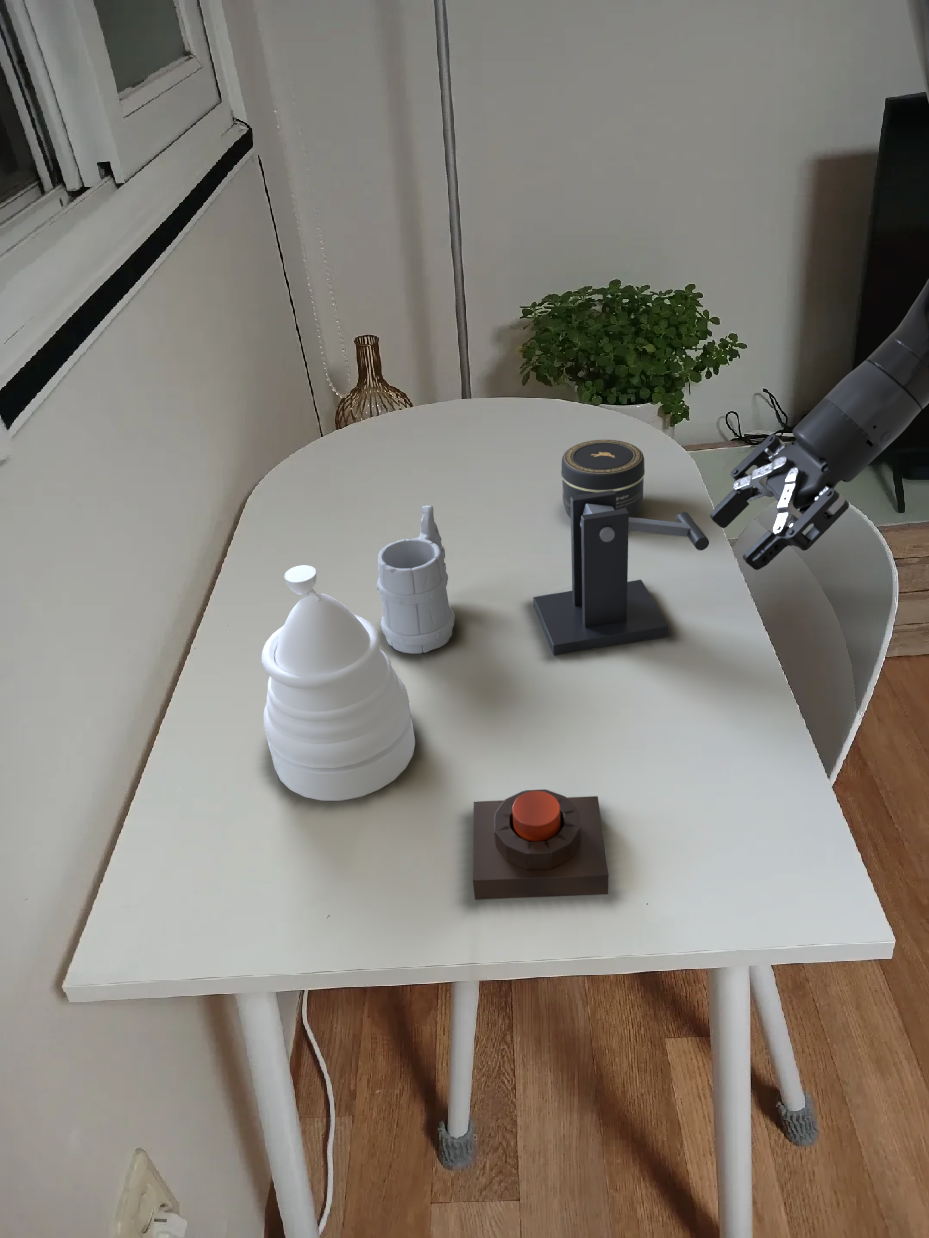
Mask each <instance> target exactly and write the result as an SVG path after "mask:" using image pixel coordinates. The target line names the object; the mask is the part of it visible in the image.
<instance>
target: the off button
mask: <svg viewBox="0 0 929 1238" xmlns="http://www.w3.org/2000/svg"><path fill="white" fill-rule="evenodd" d="M512 812H513V825H514V829H515V831H516V832H517V834H518V835H519V836H521V837H522V838H524V839H526V840H529V841H535V842H538V841H545V840H548V839H550V838H552V837H553V836H555V835H556V834H557V832H558V831H559V829H560V825H561V817H560V804H559V802H558V801H557V799H556V798H555V797H554V796H552V795H551V794H549V793H546V792H542V791H531V792H527V793H524V794H522V795H521V796H519V797H518V798H517V799H516V800H515V802H514V804H513V807H512Z"/></svg>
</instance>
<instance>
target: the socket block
mask: <svg viewBox="0 0 929 1238" xmlns="http://www.w3.org/2000/svg"><path fill="white" fill-rule="evenodd" d="M531 791H542V792H546V793H549V794H551V795H552V796H554V797H555V798H556V799H557V801H558V802H559V804H560V817H561V825H560V829H559V831H558V832H557V834H556V835H555V836H553V837H552V838H550V839H548V840H545V841H538V842H535V841H529V840H526V839H524V838H522V837H521V836H519V835H518V834H517V832H516V831H515V829H514V825H513V812H512V807H513V804H514V802H515V800H516V799H517V798H518V797H519V796H521V795H522V794H524V793H527V792H531ZM472 818H473V820H472V821H473V822H472V826H473V827H472V889H473V896H474V901H475V900H498V899H500V900H501V899H525V898H550V897H577V896H578V897H579V896H600V895H601V896H603V895H604V896H605V895H609V870H608V863H607V854H606V848H605V847H606V846H605V839H604V832H603V825H602V818H601V809H600V802H599V797H598V795H594V796H570V797H567V796H565V795H562V794H561V793H557V792H555V791H552V790H549V789H545V788H544V789H525V790H522V791H520V792H518V793H515V794H514V795H512V796H511V795H510V796H509V797H507V798H505V799H504V800H503V799H502V800H481V801H473V817H472Z"/></svg>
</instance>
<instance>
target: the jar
mask: <svg viewBox="0 0 929 1238" xmlns="http://www.w3.org/2000/svg"><path fill="white" fill-rule="evenodd" d="M560 471H561V472H560V474H561V484H562V487H561V488H562V503H563V506H564V507H563V508H564V510H565V513H566V515H567V516H568V517H569V519H571V500H570V497H571V496H577V495H583V494H590V493H596V492H603V491H610V490H614V492H615V493H616V510H619V509H626V510H627V511H628V513H629V517H632V518H637V516H638V515H639V513H640V511H641V508H642V504H643V501H644V500H643V499H644V478H645V474H646V473H645V472H646V468H645V456H644V453H643V451H642V450H641V449H640V448H638V447H637V446H636V445H633V444H632V443H629V442H626V441H622V440H618V439H617V440H616V439H594V440H593V439H592V440H587V441H584V442H580V443H577V444H575V445H573V446H571V447H569V448H568V449H567V450H565V452H564V453H563V455H562V457H561V470H560Z"/></svg>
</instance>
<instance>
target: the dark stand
mask: <svg viewBox="0 0 929 1238" xmlns="http://www.w3.org/2000/svg"><path fill="white" fill-rule="evenodd" d="M570 500H571V518H570V534H571V535H570V541H571V542H570V545H571V548H570V549H571V551H570V552H571V590H568V591H562V592H556V593H549V594H543V595H537V596H533V597H532V603H533V609H534V611H535V613H536V616H537V618H538V621H539V623H540V626H541V628H542V632H543V633H544V636H545V639H546V641H547V643H548V645H549V648H550V650H551V653H552V655H553V656H559V655H565V654H570V653H577V652H582V651H589V650H595V649H600V648H606V647H610V646H613V647H614V646H618V645H624V644H629V643H630V644H631V643H637V642H642V641H648V640H654V639H660V638H666V637H669V636H670V625H669V623H668V621H667V620H666V618H665V617H664V615H663V613H662V611H661V610H660V608H659V606H658V605H657V603H656V602H655V600H654V599H653V597H652V595H651V594H650V591H649V590H648V588H647V587H646V585H645V584H644V582H643V580H642V579H636V580H635V579H634V580H629V581H628V579H629V577H628V576H629V575H628V573H629V572H628V571H629V569H628V568H629V531H628V529H629V513H628V511H627V510H626V509H619V510H616V493H615V492H614V490H610V491H603V492H596V493H590V494H583V495H577V496H571V497H570ZM586 504H595V505H604V506H612V507H613V508H614V510H613V511H607V512H600V513H594V514H587V515H583V512H584V509H585V505H586ZM580 522H581V526H580Z"/></svg>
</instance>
